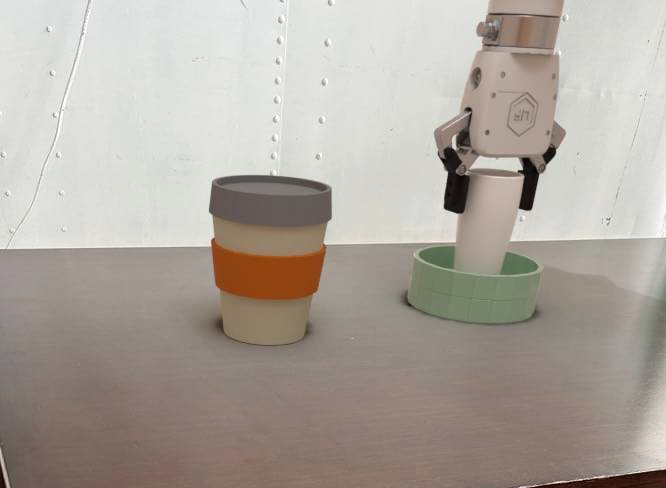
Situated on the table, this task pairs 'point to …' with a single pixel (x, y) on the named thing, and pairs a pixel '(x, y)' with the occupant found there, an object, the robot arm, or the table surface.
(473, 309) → the green plastic ring
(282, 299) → the reusable coffee cup
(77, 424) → the table surface
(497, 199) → the drinking glass
